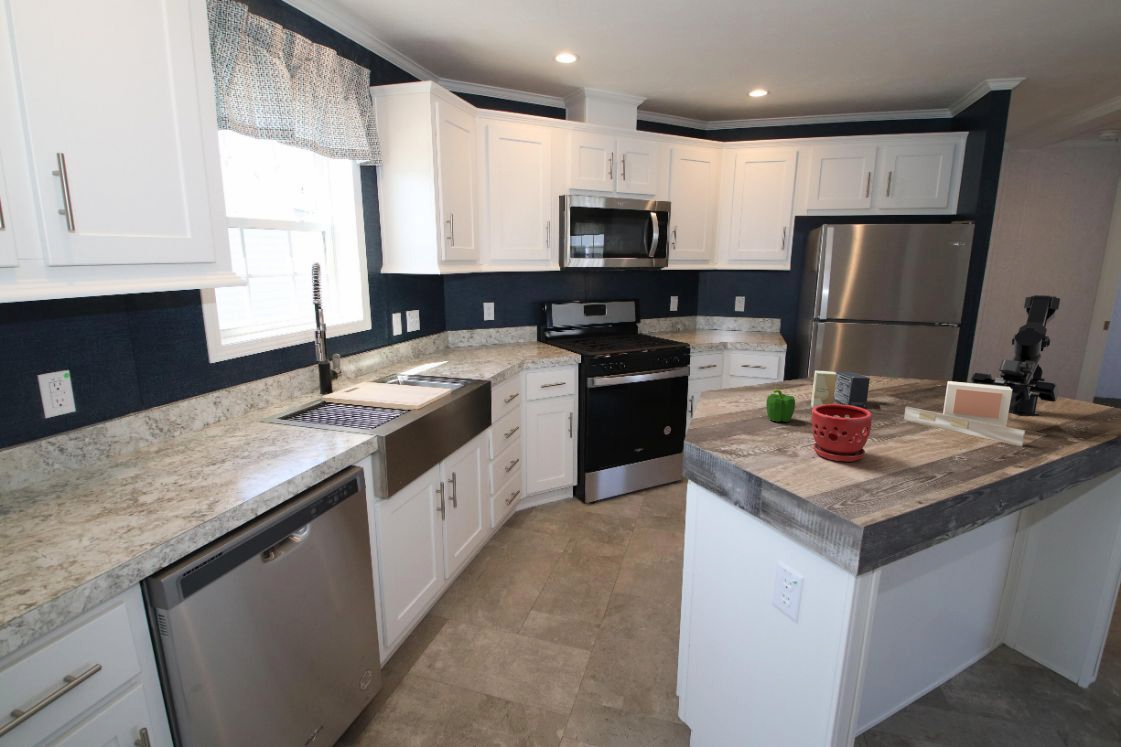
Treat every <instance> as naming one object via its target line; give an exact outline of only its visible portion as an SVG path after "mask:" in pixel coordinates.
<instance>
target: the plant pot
mask: <svg viewBox="0 0 1121 747" xmlns="http://www.w3.org/2000/svg"><path fill="white" fill-rule="evenodd" d="M846 416H849V417H846ZM872 416H873V415H872V413H871V411H869V410H868V409H865V408H859V407H855V406H849V405H842V404H840V403H837V404H836V403H833V404H826V405H819V406H816V407H814V408H812V410H811V431H812V432H811V433H812V435H813V436H812V437H813V439H814V442H815V443H814V444H813V446H812V447H813V448H812V449H813V451H814V452H815V453H816V454H817V455H819V456H821V457H822V458H825V459H828V460H830V461H831V460H832V461H836V462H847V463H851V462H855V461H858V460H861V459H862V458H863V457H865V454H866V451H865V449H864V447H865V445H866V444H867V442H868V439H869V437H870V433H871V430H872V429H871V428H872Z"/></svg>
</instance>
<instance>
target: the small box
mask: <svg viewBox="0 0 1121 747" xmlns="http://www.w3.org/2000/svg"><path fill="white" fill-rule="evenodd" d="M836 374H837V377H836V384H835V392H834V400H835V401H834V400H833V401H834V402H836V401H837V402H836V403H838V402H839V403H838V404H840V403H841V404H840V405H842V404H843V405H849V406H855V407H859V408H863V409H865V408H867V405H868V404H867V402H868V396H869V395H868V394H869V387H870V382H871V381H870V379H871V378H870V377H868V376H865V375H862V374H861V373H858V372H854V371H836Z"/></svg>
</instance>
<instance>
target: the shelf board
mask: <svg viewBox="0 0 1121 747" xmlns="http://www.w3.org/2000/svg"><path fill="white" fill-rule="evenodd" d="M903 421H906V422H910V423H916V424H919V425H924V426H928V427H933V428H936V429H942V430H945V431H950V432H955V433H959V434H965V435H969V436H971V437H978V438H981V439H986V440H992V441H996V442H999V443H1003V444H1009V445H1012V446H1017V447H1023V446H1026V445H1028V444H1030V443H1032V442H1035V441H1036V440H1039V439H1040V438H1043V437H1046V435H1048V434H1047V433H1044V432H1039V431H1038V432H1037V431H1032V430H1027V429H1023V428H1018V427H1012V426H1008V425H1006V427H1004V426H1000V425H995V424H990V423H985V422H980V421H975V420H970V419H965V418H960V417H956V416H951V415H946V414H943V412H940V411H934V410H931V411H929V410H925V409H921V408H916V407H911V406H905V408H904V417H903Z"/></svg>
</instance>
